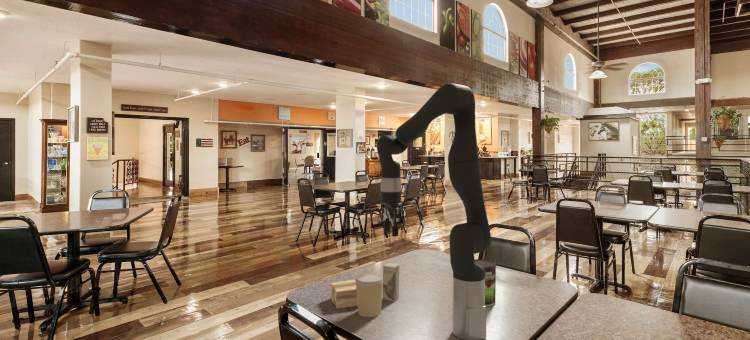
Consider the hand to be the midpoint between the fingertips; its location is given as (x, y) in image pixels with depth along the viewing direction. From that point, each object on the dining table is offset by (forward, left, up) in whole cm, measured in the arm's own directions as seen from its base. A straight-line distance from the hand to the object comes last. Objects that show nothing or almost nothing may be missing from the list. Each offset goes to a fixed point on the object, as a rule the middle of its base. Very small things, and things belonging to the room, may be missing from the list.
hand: (390, 233), depth 139 cm
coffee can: (-13, -30, -25) cm, 41 cm away
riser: (+3, +16, -24) cm, 29 cm away
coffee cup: (-9, +11, -25) cm, 28 cm away
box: (0, 0, -25) cm, 25 cm away
